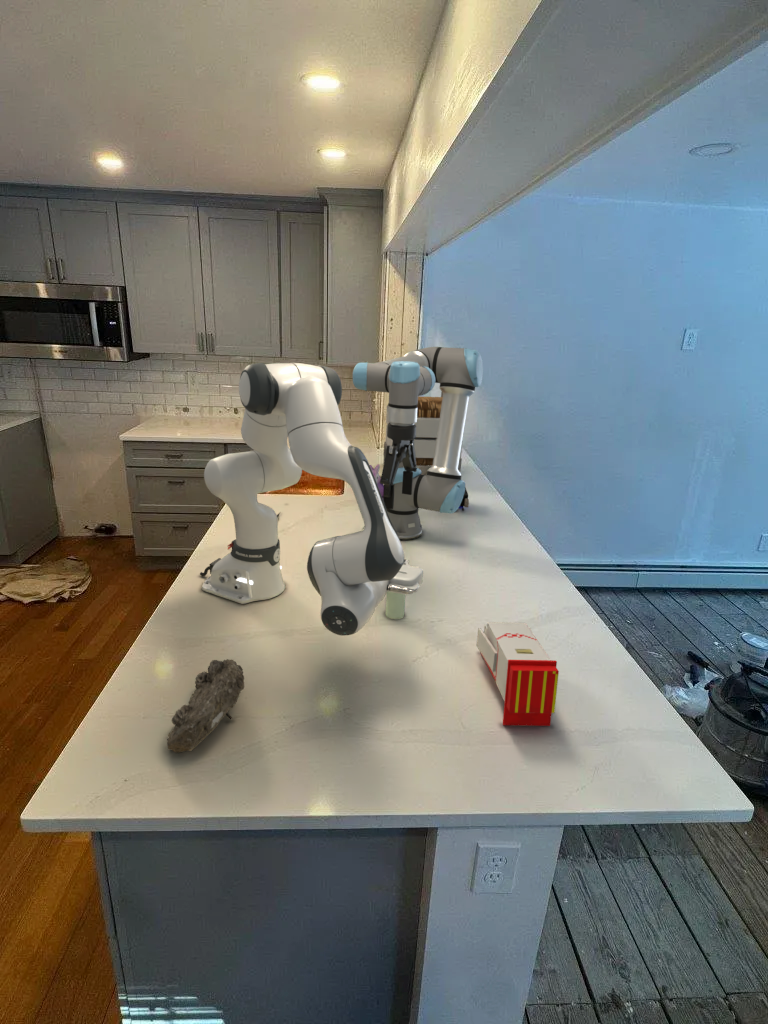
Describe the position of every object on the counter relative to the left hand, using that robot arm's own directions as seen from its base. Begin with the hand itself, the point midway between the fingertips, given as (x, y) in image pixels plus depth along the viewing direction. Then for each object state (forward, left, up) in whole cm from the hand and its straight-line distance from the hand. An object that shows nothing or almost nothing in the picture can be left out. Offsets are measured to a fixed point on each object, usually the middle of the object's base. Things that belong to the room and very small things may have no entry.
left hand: (385, 559), depth 130 cm
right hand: (-5, +27, +5) cm, 28 cm away
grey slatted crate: (-26, +145, -21) cm, 149 cm away
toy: (+31, -7, -21) cm, 38 cm away
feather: (-60, +65, -21) cm, 91 cm away
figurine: (-33, +97, -21) cm, 105 cm away
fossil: (-22, -38, -21) cm, 49 cm away
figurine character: (+1, +103, -21) cm, 105 cm away
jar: (0, +11, -21) cm, 24 cm away
